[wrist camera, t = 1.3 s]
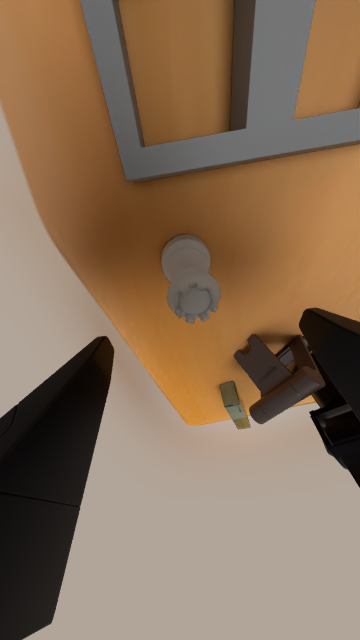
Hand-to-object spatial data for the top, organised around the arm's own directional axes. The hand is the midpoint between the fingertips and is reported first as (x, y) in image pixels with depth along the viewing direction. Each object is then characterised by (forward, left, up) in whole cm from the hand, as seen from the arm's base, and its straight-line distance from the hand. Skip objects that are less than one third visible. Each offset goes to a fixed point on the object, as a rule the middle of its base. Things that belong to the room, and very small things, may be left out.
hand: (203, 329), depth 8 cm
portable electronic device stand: (-15, -10, -10) cm, 21 cm away
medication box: (-28, -6, -10) cm, 30 cm away
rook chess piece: (0, 0, -10) cm, 10 cm away
